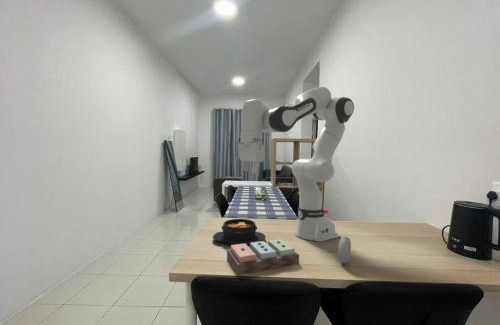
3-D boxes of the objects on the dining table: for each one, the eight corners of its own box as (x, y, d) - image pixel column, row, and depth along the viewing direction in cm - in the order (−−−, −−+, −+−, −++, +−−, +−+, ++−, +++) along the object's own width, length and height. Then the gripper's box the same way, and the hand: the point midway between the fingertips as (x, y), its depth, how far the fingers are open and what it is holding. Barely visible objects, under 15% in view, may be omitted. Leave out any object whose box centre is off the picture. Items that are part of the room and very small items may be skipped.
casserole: (209, 247, 105) (210, 228, 105) (215, 233, 124) (215, 217, 123) (267, 248, 105) (267, 229, 105) (264, 234, 124) (264, 217, 123)
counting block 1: (245, 251, 96) (245, 242, 96) (255, 263, 86) (255, 253, 86) (230, 253, 94) (230, 244, 94) (239, 266, 84) (239, 256, 84)
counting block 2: (263, 248, 99) (263, 240, 99) (275, 260, 89) (275, 250, 89) (249, 250, 97) (250, 242, 97) (260, 262, 87) (261, 252, 87)
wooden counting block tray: (281, 250, 104) (282, 242, 104) (298, 263, 91) (299, 254, 91) (226, 258, 95) (227, 249, 95) (237, 274, 82) (237, 264, 82)
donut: (346, 269, 88) (347, 242, 87) (336, 266, 90) (337, 240, 89) (351, 258, 96) (352, 234, 96) (342, 256, 98) (343, 232, 98)
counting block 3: (280, 246, 102) (280, 238, 102) (294, 257, 92) (294, 248, 92) (267, 248, 100) (268, 239, 100) (280, 259, 90) (280, 250, 89)
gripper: (268, 138, 91) (267, 174, 92) (250, 140, 111) (248, 170, 111) (253, 137, 89) (251, 174, 90) (236, 139, 108) (235, 170, 109)
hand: (250, 172), depth 101 cm, fingers open, 8 cm apart
